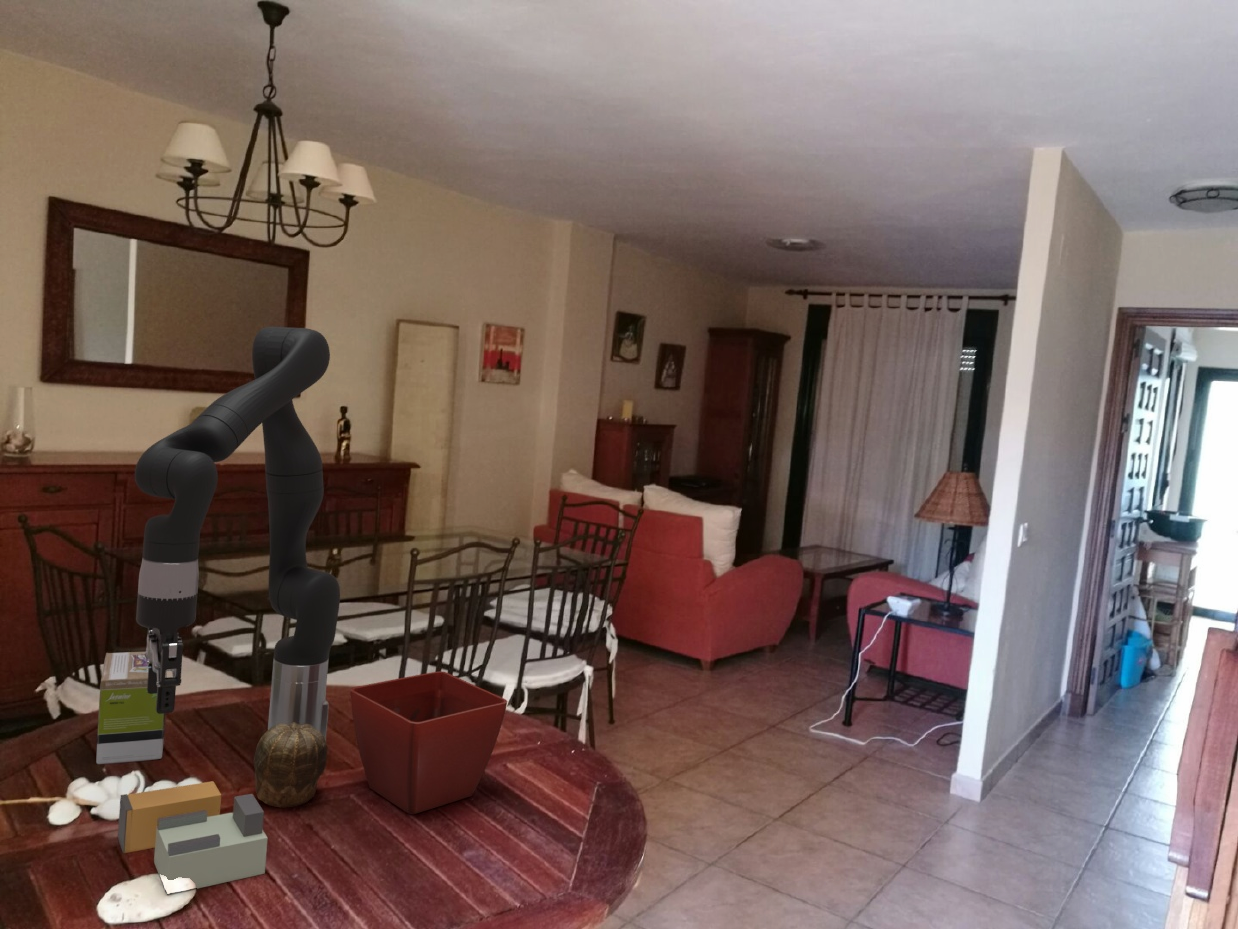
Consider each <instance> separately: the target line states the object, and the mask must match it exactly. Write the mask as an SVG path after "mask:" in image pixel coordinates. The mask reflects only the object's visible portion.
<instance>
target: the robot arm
mask: <svg viewBox="0 0 1238 929" xmlns="http://www.w3.org/2000/svg"><path fill="white" fill-rule="evenodd" d="M251 351H252V352H251V354H252V355H251V360H252V368H253V369H252V370H253V375H254V376H253V377H254V380H251V381H249V382H247V383H245V384H242V385H240V386H237V387H236V388H234V389H232V390H230V391H228V392H227V393H225V394H223V395H221V396H220V397H218V398H216V399H215V400H214V401H213V402H212V403H210V404H209V405H208V406H207V407H206V408H205V409H204V410H203V411H202V412H201V413H200V414H199V415H198V416H197V417H196V418H195V419H194V420H192V422H191V423H189V424H187V425H186V426H184V427H182V428H180V429H177V430H176V431H173V432H172V433H170V434H168V435H167V436H165V437H163V438H161V439H159V440H158V441H156V442H155V443H153V444H151V445H150V446H149V447H148V448H147V449H146V450H145V451H144V452H143V453H142V454H141V455H140V457H139V459H138V461H137V462H136V465H135V469H134V481H135V483H136V485H137V487H138V488H139V490H140V491H141V492H143V493H145V494H146V495H149V496H152V497H156V498H165V499H169V500H170V499H171V500H174V504H173V506H172V509H171V511H170V513H167V514H159V515H155V516H152V517H150V518H149V519H148V520H147V521H146V523H145V526H144V534H143V547H142V560H141V565H140V569H139V573H138V574H139V575H138V586H137V587H138V588H137V590H138V591H137V600H136V616H135V621H136V624H138V625H139V626H141V627H142V628H143V627H144V628H147V636H146V648H145V652H146V653H145V657H146V659H148V660H147V666H148V667H151V668H148V682H147V691H148V693H149V694H156V693H157V700H156V711H157V713H158V714H164V713H165V714H171V713H173V712H174V711H175V705H176V704H175V703H176V692H177V690H176V689H177V687H178V686H181V684H182V668H183V667H182V664H183V651H184V648H185V646H184V644H183V638H182V637H180V633H179V632H178V630H179V629H181V628H183V627H189V626H190V625H191V626H192V625H193V624H194V623H195V621H196V616H197V603H198V589H199V576H200V574H199V573H200V572H199V553H200V537H201V536H200V535H201V530H202V528H203V524H204V522H205V519H206V516H207V514H208V510H209V509H210V505H211V502H212V499H213V498H214V495H215V492H216V489H217V486H218V480H219V477H218V476H219V475H218V470H217V466H216V464H215V463H220V462H222V461H225V460H226V459H228V458H230V457H231V455H232V454H233V453H234V452H235V451H236V450H237V449H238V448H239V447H240V446H241V445H242V444H243V443H244V442H245V440H246V439H247V438H248V437H249V436H250V435H251V434H252V433H253V432H254V431H255V430H256V429H257V428H258V427H259V426H260V425H261V424H262V425H261V426H262V436H263V437H262V438H263V446H264V448H263V449H264V467H265V468H264V470H265V484H266V494H267V503H268V526H269V527H268V528H269V564H268V566H269V567H268V598H269V604H270V606H271V608H272V609H273V611H274V612H275V613H277V614H278V615H281V616H283V617H285V618H288V619H292V620H295V629H294V633H293V634H294V635H291V636H286V637H284V638H281V639H278V640H277V641H276V643H275V645H274V652H273V662H272V674H271V689H270V696H269V698H270V699H269V710H268V721H267V722H268V724H267V731H268V730H269V729H270V728H271V727H273V726H274V725H277V724H286V725H287V724H290V723H292V722H295V723H297V724H299V725H304V724H309V725H311V726H312V727H314V728H315V729H316V730H317V731H319V732H320V733H321V734H322V735H323V736H324V738H325V740H326V741H327V730H328V728H327V727H328V719H329V707H330V706H329V704H330V703H329V702H328V700H326V692H327V684H328V683H327V681H328V670H329V659H330V651H331V649H332V646H333V645H334V642H335V639H336V638H335V637H336V633H337V625H338V617H339V613H340V612H339V610H340V604H341V603H340V602H341V587H340V583H339V581H338V579H337V578H336V577H335V576H334V575H333V574H332V573H329V572H327V571H323V570H320V569H319V570H318V569H316V568H315V569H314V568H311V567H309V566H308V561H307V550H306V547H307V546H306V543H307V541H306V540H307V534H308V531H309V529H310V527H311V525H312V523H313V521H314V519H315V518H316V516H317V514H318V512H319V510H320V507H321V504H322V502H323V498H324V493H325V492H324V473H323V472H324V471H323V460H322V457H321V453H320V451H319V450H318V448H317V446H316V444H315V442H314V440H313V438H312V437H311V435H310V434H309V432H308V431H307V429H306V427H305V426H304V424H303V423H302V421H301V420H300V418H299V416H298V414H297V411H296V409H295V405H294V402H293V400H294V399H295V398H296V397H298V396H299V395H301V394H302V393H303V392H305V391H306V390H308V389H309V388H311V387H312V386H313V385H314V384H316V383H317V382H318V381H319V380H321V379H322V377H323V376H324V375H325V374H326V372H327V370H328V368H329V364H330V358H331V356H330V355H331V354H330V353H331V351H330V347H329V343H328V341H327V338H325V336H324V335H323V334H322V333H321V332H319V331H318V330H315V329H312V328H311V329H310V328H305V327H289V326H288V327H286V326H284V327H283V326H265V327H263V328H261V329H260V330H258V332H257V333H256V335H255V336H254V339H253V342H252V350H251ZM166 671H167V672H171V674H172V676H170V677H169V676H168V677H167V678H165V675H166Z"/></svg>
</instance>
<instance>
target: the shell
mask: <svg viewBox="0 0 1238 929" xmlns="http://www.w3.org/2000/svg"><path fill="white" fill-rule="evenodd" d="M327 758H328V744H327V739H326V740H325V738H324V736H323V735H322V734H321V733H320V732H319V731H317V730H316V729H315V728H314V727H312V726H311V725H309V724H304V725H299V724H297V723H295V722H292V723H290V724H287V725H286V724H277V725H274V726H273V727H271V728H270V729H269V730H268V729H267V731H265V732H264V733H263V734H262V736H261V737H260V738H259V741H258V743H257V745H256V749H255V753H254V756H253V767H254V782H255V783H254V788H255V792H256V796H257V799H258V800H260V801H261V802H263V803H264V804H266V805H268V806H272V807H273V806H274V807H273V808H275V807H276V808H281V807H283V809H286V807H288V808H293V807H292V806H295V807H299V806H301V804H302V805H304V804H306V803H308V801H309V800H310V799H311V800H312V799H313V798H314V797H313V796H315V795H316V792H317V788H318V782H319V778H320V777H321V776H322V775H323V774H324V771H325V769H326V765H327ZM311 800H310V801H311ZM310 801H309V802H310ZM298 805H299V806H298Z"/></svg>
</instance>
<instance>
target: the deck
mask: <svg viewBox="0 0 1238 929" xmlns="http://www.w3.org/2000/svg"><path fill="white" fill-rule="evenodd" d="M264 815H265V811H264V810H263V808H262V807H261V805H260V804H259V802H258V800H257V799H256V798H255V795H254V794H253V793H250V794H243V795H237V796H234V798H233V808H232V812H226V813H222V814H221V813H220V815H216V816H210V817H207V811H206V810H203V811H197V812H192V813H186V814H180V815H175V816H169V817H163V818H158V821H157V828H156V842H155V847H154V858H153V863H154V866H155V868H156V871H157V874H158V875H159V874H161V875H164V876H166V877H167V879H168V880H174V879H176V878H178V877H182V878H190V879H191V880H192V881H193V882H194V883H195V884H196V888H197V889H202V888H207V887H210V886H215V885H220V884H223V883H224V884H225V883H227V882H228V883H229V882H232V881H237V880H241V879H245V878H250V877H255V876H260V875H263V874H264V875H265V872H266V865H267V864H266V863H267V849H268V836H267V834H266V833H265V831H264V829H263V828H264V817H265V816H264Z"/></svg>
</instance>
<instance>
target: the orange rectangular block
mask: <svg viewBox="0 0 1238 929" xmlns="http://www.w3.org/2000/svg"><path fill="white" fill-rule="evenodd" d="M119 798H120V799H119V814H118V827H117V840H118V842H119V845H120V848H121V851H122V854H128V853H131V852H132V853H133V852H138V851H144V850H148V849H152V848H153V849H155V842H156V828H157V821H158V818H163V817H169V816H175V815H180V814H186V813H192V812H197V811H203V810H206V811H207V817H210V816H216V815H221V803H222V802H221V801H222V794H221V792H220V790H219V789H218V787H217V785H216V783H215V782H214V781H213V780H212V781H205V782H199V783H193V784H187V785H181V786H174V787H168V788H161V789H155V790H150V791H141V792H136V793H129V794H127V793H125V794H120V797H119Z"/></svg>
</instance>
